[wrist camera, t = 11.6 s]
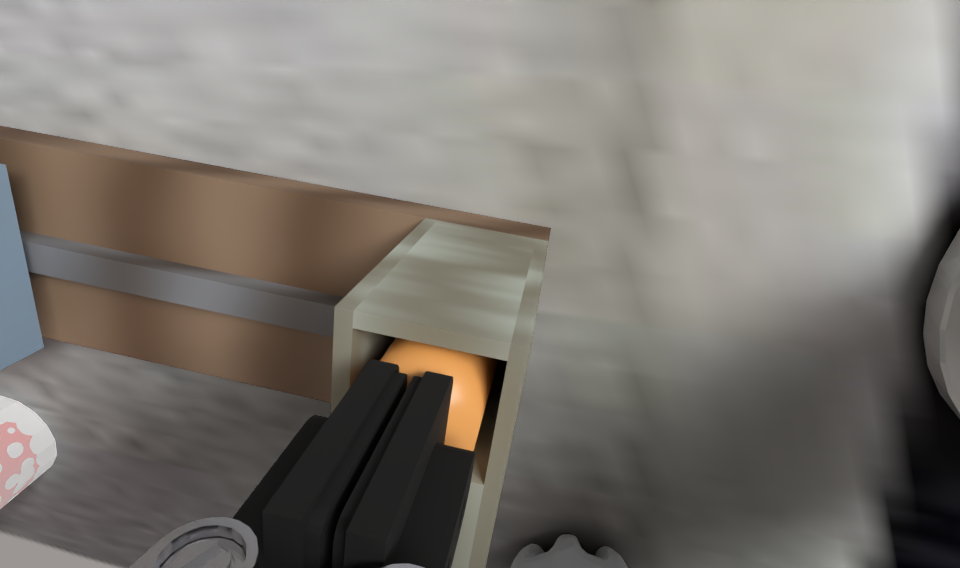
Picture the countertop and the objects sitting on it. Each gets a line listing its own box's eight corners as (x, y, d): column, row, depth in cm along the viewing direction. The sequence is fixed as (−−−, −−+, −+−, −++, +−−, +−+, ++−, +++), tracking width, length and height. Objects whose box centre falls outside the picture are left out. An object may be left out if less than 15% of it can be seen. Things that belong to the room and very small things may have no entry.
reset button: (509, 303, 14) (485, 388, 10) (494, 387, 15) (466, 492, 11) (412, 283, 14) (353, 359, 10) (403, 367, 15) (347, 464, 11)
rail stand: (550, 228, 18) (531, 347, 10) (511, 418, 21) (474, 621, 13) (-166, 94, 21) (-608, 109, 13) (-107, 280, 24) (-434, 381, 16)
